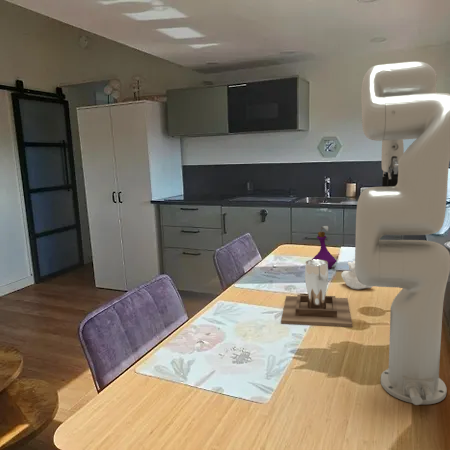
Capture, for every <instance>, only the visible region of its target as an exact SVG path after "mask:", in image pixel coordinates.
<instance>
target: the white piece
mask: <svg viewBox="0 0 450 450" xmlns="http://www.w3.org/2000/svg"><path fill="white" fill-rule="evenodd" d="M312 259H313V258H312ZM312 259H308V260H305V264H304V265H305V267H304V279H305V280H304V281H305V287H306V293H307V295H308V303H307V308H310V309H327V306H326V300H325V297H326V296H327V289H328V283H329V269H328V264H327V263H328V262H327V261H325V260H319V259H313V260H312Z"/></svg>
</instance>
